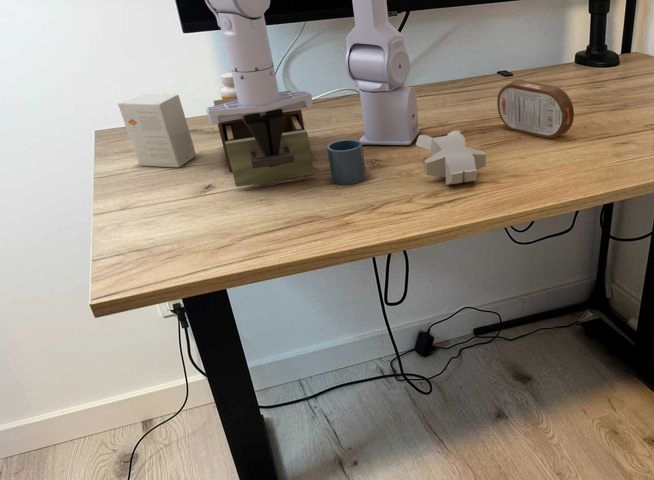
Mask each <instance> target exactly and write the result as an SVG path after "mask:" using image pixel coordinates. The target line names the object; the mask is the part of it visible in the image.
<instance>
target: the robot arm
mask: <svg viewBox="0 0 654 480" xmlns="http://www.w3.org/2000/svg"><path fill="white" fill-rule="evenodd" d="M351 1H352V9H353V16H354V27H353V28H352V29H351V31H350V32H349V33H348V34H347V36H346V37H345V40H346V54H345V69H346V72H347V76H348V77H349V78H350V79H351V80H352V81H353V82H354V86H355V88H358V91H359V101H360V107H361V115H362V123H363V131H364V133H363V135H362V136H361V137H360V138H359V140H358V141H360V142H361V143H362V145H373V146H374V145H376V146H377V145H379V146H410V145H411V144H412V143H413V141H414V140H415V139H416V137H417V136H418V134H419V133H420V130H421V129H420V128H419V116H418V114H419V113H418V101H417V94H416V90H415V88H414V87H413V86H406V85H405V83H406V81H407V79H408V77H409V74H410V70H411V62H410V57H409V54H408V52H407V50H406V45H405V36H404V35H403V34H402V33H401V32H400V31H398V29H396V27H394V26H393V25H392V24H391V23H390V21H389V14H388V5H387V0H351ZM204 2H205V4H206V6H207V7H208V9H209V10H210V11H211V12H212V13H213V15H214V16H215V19H216V22H217V23H216V24H217V27H219V28H220V30H221V33H222V38H223V41H224V45H225V50H226V54H227V58H228V63H229V67H230V71H231V72H232V76H233V80H234V85H235V89H236V93H237V98H238V100H236V101H232V102H229V103H225V104H221V105H217V106H214V105H213V106H208V107H206V108H205V110H206V114H207V118H208V122H209V123H210V125H211V126H216V125H218V124H219V122H225V121H231V120H236V119H242V120H243V122H244V123H245V124H246V126H247V127H248V129H249V130H250V132H251V133H252V135H253V136H254V138H255V140H256V141H257V143H258V145H259V147H260V149H261V151H262V153H263V155H264V157H265V156H271V155H278V154H279V149H280V141H281V136H282V132H283V129H284V126H285V116H284V115H283V112H282V111H287V110H293V109H299V108H300V109H303V108H305V109H312V108H314V103H313V96H312V93H311V92H310V91H308V90H303V91H295V92H291V93H281V94H279V92H280V91H279V86H278V85H279V84H278V81H277V75H276V71H275V65H274V59H273V55H272V51H271V45H270V39H269V35H268V29H267V23H266V18H265V13H266V11H267V10H268V9H269V8H270V5H271V0H204ZM260 115H261V116H260ZM274 166H279V165H273V166H269V167H274Z"/></svg>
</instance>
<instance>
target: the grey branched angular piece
mask: <svg viewBox="0 0 654 480" xmlns="http://www.w3.org/2000/svg"><path fill="white" fill-rule="evenodd" d="M415 145H416V146H417V147H419V148H422V149H425V150H427V151H430V157H428V158H425V159H424V174H425V175H426V176H432V177H442V178H445V184H446V185H448V186H449V185H456V184H463V183H469V182H475V181H478V170H480V169H483V168H486V167H487V166H486V165H487V154H486V151H483V150H479V149H476V148H471V147H467V146H466V139H465V136H464V135H463V134H462V133H461V131H460V130H452V131H449V132H448V133H447V135H443V136H436V137H432V136H430V135H427V134H420V135H418V137H417V139H416V143H415Z"/></svg>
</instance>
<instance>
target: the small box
mask: <svg viewBox="0 0 654 480" xmlns="http://www.w3.org/2000/svg"><path fill="white" fill-rule="evenodd" d="M117 105H118V109H119V112H120V115H121V117H122V120H123V122H124V126H125V128H126V132H127V134H128V138H129V140H130V143H131V145H132V149H133V151H134V154H135V158H136V160H137V163H138V165H139V166H140V167H158V168H159V167H162V168H181V167H182V166H183V165H185V164H186V163H188V162H190V161H191V160H193V159H194V158H196V157H197V152H196V149H195V146H194V143H193V139H192V134H191V132H190V129H189V125H188V122H187V119H186V116H185V112H184V109H183V105H182V102H181V98H180V95H179V94H157V93H156V94H155V93H154V94H153V93H151V94H150V93H149V94H148V93H138V94H136V95H133V96H131V97H129V98H127V99H125V100H122V101H119V102H118V103H117Z"/></svg>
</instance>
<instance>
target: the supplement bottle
mask: <svg viewBox="0 0 654 480" xmlns="http://www.w3.org/2000/svg"><path fill="white" fill-rule="evenodd" d="M220 79H221V83H222V85H223V87H222V88H220V96H221V100H222V99H230V98H237V93H236V89H235V85H234V80H233V76H232V72H224V73H222V74H221V75H220Z"/></svg>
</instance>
